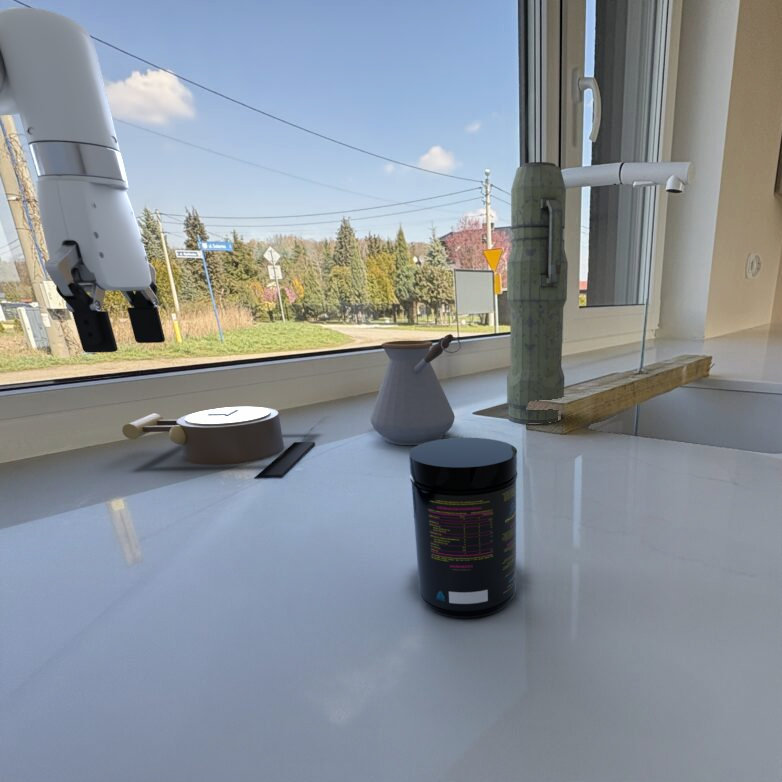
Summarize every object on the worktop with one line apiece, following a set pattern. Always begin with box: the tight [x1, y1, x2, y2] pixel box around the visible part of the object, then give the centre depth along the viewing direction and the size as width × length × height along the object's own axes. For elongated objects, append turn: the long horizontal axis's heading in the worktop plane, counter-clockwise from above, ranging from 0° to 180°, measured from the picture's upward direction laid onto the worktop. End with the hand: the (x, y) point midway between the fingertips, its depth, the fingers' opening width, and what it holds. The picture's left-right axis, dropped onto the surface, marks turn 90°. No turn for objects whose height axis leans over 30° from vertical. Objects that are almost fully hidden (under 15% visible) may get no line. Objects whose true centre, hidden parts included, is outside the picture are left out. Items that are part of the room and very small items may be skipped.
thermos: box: [506, 161, 569, 425], centre depth 84 cm, size 9×12×35 cm
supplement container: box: [408, 437, 518, 620], centre depth 37 cm, size 7×7×10 cm
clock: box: [121, 406, 285, 466], centre depth 68 cm, size 16×11×5 cm
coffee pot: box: [369, 333, 462, 446], centre depth 72 cm, size 21×12×15 cm, turn 28°
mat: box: [253, 441, 316, 479], centre depth 69 cm, size 15×14×1 cm
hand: (127, 346), depth 64 cm, fingers open, 9 cm apart
